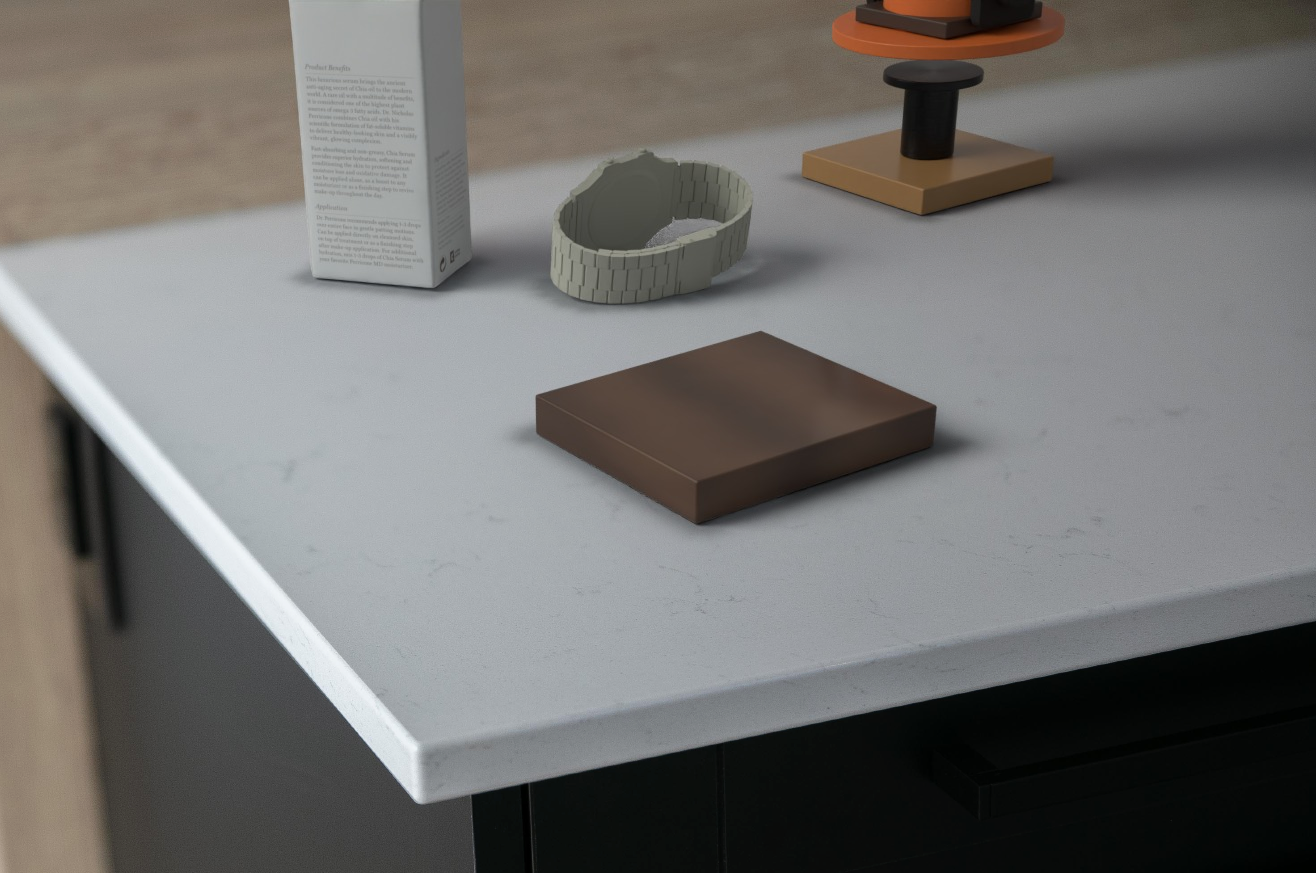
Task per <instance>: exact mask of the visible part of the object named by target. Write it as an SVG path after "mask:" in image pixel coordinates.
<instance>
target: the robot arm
mask: <svg viewBox="0 0 1316 873" xmlns="http://www.w3.org/2000/svg"><path fill="white" fill-rule="evenodd" d="M877 1H881V0H866V4H868V3H872V2H877ZM1035 1H1036V0H971V10H970V19H971V22H972V24H973V26H975V27H981V28H989V27H993V26H997V25H1002V24H1006V23H1011V22H1015V21H1019V20H1024V19H1027V18H1029V17H1030V16H1031V15H1032V14H1033V11H1034V6H1035Z"/></svg>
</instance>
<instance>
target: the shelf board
mask: <svg viewBox="0 0 1316 873" xmlns="http://www.w3.org/2000/svg"><path fill="white" fill-rule="evenodd" d="M937 410H938V406H937V405H936V404H935V403H932V402H930V401H927V400H926V399H923V398H920V397H918V396H915V395H913V394H911V393H908V392H907V391H904V390H901V389H899V388H897V387H895V386H892V385H889V384H887V383H885V382H883V381H881V380H878V379H876V378H873V377H871V376H868V375H866V374H864V373H861V372H859V371H856V370H855V369H852V368H850V367H847V366H845V365H843V364H840V363H838V362H835V361H833V360H831V359H829V358H827V357H824V356H821V355H819V354H817V353H814V352H812V351H810V350H807V349H805V348H803V347H801V346H798V345H796V344H793V343H791V342H789V341H787V340H784V339H782V338H780V337H778V336H774V335H773V334H771V333H768V332H765V331H763V330H758V331H755V332H750V333H748V334H743V335H740V336H737V337H733V338H729V339H726V340H723V341H720V342H716V343H712V344H709V345H705V346H702V347H699V348H695V349H692V350H688V351H684V352H680V353H677V354H673V355H670V356H667V357H663V358H660V359H657V360H653V361H649V362H646V363H643V364H639V365H635V366H631V367H629V368H625V369H621V370H618V371H614V372H611V373H608V374H603V375H600V376H597V377H593V378H590V379H586V380H582V381H580V382H576V383H572V384H569V385H566V386H562V387H558V388H555V389H552V390H548V391H544V392H541V393H537V394H536V395H535V433H536V435H538V436H540V437H542V438H543V439H544V440H547V441H548V442H551V443H552V444H554V445H555V446H557V447H559V448H561V449H562V450H565V451H566V452H568V453H570V454H571V455H573V456H575V457H577V458H578V459H581V460H582V461H584V462H586V463H587V464H589V465H590V466H593V467H594V468H596V469H598V470H599V471H601V472H603V473H605V474H607V475H609V476H611V477H612V478H614V479H615V480H617V481H619V482H621V483H623V484H624V485H626V486H628V487H630V488H631V489H633V490H634V491H637V492H638V493H641V494H642V495H644V496H646V497H647V498H649V499H651V500H653V501H655V502H656V503H658V504H660V505H661V506H663V507H665V508H667V509H669V510H670V511H672V512H674V513H675V514H678V515H679V516H681V517H683V518H684V519H686V520H688V521H690V522H691V523H693V524H700V523H703V522H707V521H710V520H713V519H716V518H718V517H719V518H720V517H722V516H725V515H729V514H731V513H734V512H737V511H740V510H743V509H746V508H749V507H752V506H755V505H758V504H761V503H764V502H767V501H770V500H774V499H776V498H779V497H782V496H785V495H789V494H791V493H794V492H797V491H800V490H803V489H806V488H810V487H813V486H817V485H819V484H822V483H825V482H827V481H830V480H834V479H836V478H841V477H843V476H846V475H849V474H852V473H855V472H858V471H861V470H865V469H867V468H870V467H873V466H877V465H880V464H882V463H885V462H889V461H891V460H893V459H897V458H900V457H903V456H906V455H909V454H912V453H915V452H918V451H921V450H924V449H928V448H930V447H933V446H934V443H935V431H936V420H937Z"/></svg>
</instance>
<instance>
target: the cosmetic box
mask: <svg viewBox="0 0 1316 873" xmlns="http://www.w3.org/2000/svg"><path fill="white" fill-rule="evenodd" d="M288 6H289V16H290V17H289V18H290V27H291V28H290V29H291V38H292V52H293V60H294V74H295V87H296V100H297V110H298V123H299V124H298V125H299V135H300V145H301V146H300V148H301V158H302V159H301V160H302V174H303V184H304V185H303V186H304V199H305V212H306V224H307V233H308V234H307V235H308V247H309V262H310V270H311V271H310V272H311V275H312V277H313V278H316V279H325V280H326V279H327V280H336V281H337V280H338V281H349V282H360V283H372V284H383V285H394V286H403V287H404V286H405V287H416V288H426V289H434V288H436V287H438V286H439V285H441V284H442V283H443V282H444V281H446V280H447V279H448V278H449V277H450V276H452V275H453V274H454V273H455V272H457V271H458V270H459V269H460V268H462V267H463V266H465V265H466V264H467V263H468V262H470V261H471V259H472V255H473V249H472V231H471V230H472V228H471V203H470V202H471V201H470V200H471V199H470V180H469V159H468V157H469V156H468V155H469V154H468V138H467V137H468V136H467V135H468V134H467V133H468V132H467V114H466V111H467V109H466V91H465V90H466V89H465V67H464V66H465V64H464V43H463V40H464V39H463V24H462V22H463V20H462V0H288Z"/></svg>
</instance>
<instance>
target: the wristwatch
mask: <svg viewBox="0 0 1316 873" xmlns="http://www.w3.org/2000/svg"><path fill="white" fill-rule="evenodd" d="M753 201H754V193H753V190H752V186H751V185H750V184H749V183H748V181H747V180H746V179H745V177H743V176H742V175H740V174H739V173H738V172H736V171H735V170H732V169H730V168H728V167H726V166H723V165H720V164H719V163H718V164H717V163H715V162H714V163H713V162H710V161H708V162H707V161H704V160H703V161H702V160H691V159H690V160H685V159H681V160H679V161H678V160H676V159H675V158H673V157H659V156H656V155H655V153H654V152H653V151H652V150H650V149H649V148H648V147H640V148H638V149H635V150H633V151H632V152H631V153H628V154H625V155H622V156H619V157H616V158H615V157H608V158H606V159H604V160H603V161H599V163H598V164H597V167H596V168H594V169H593V170H592V171H591V172H590V173H589V174H588V175H587V177H586V178H585V179H584V180H583V181H582V182H580V183H579V184H578V185H577V186H576V187H574V188H573V189H571V190H570V191H569V196H566V198H565V199H564V200H562V201H561V203H559V204H558V206H557V208H556V209H555V211H554V213H553V220H552V234H551V235H552V236H551V253H550V254H551V256H550V279H551V281H552V284H553V285H554V286H555V287H556V288H557V289H558V290H559V291H561V292H563V293H564V294H567V295H568V296H569V297H573V298H576V299H580V300H583V301H587V302H593V303H601V304H608V305H609V304H610V305H611V304H622V305H625V304H634V303H643V302H644V303H645V302H649V301H655V300H659V299H662V298H668V297H671V296H674V295H685V294H689V293H693V292H696V291H700V290H701V291H702V290H704V289H707V288H710V286H711V285H712V278H714V277H716V276H719V275H720V274H722V273H723V272H726V271H727V270H729V269H730V268H732V267H733V266H734V265H736V264H737V263H738V262H739V261H740V260H741V259H742V258H743V256H744V254H745V252H746V251H747V247H748V239H749V233H750V226H751V218H752V209H753V203H754V202H753ZM673 219H674V220H675V221H682V220H700V219H701V220H708V221H715V222H718V223H721V225H718V226H716V227H713V226H710V227H707V228H703V229H701V230H698V231H695V232H691V233H688V234H686V235H683V236H679V237H677V238H676V241H672V242H668V243H666V244H660V245H656V246H654V247H646V246H647V244H648V243H649V242H650V241H651V240H652V239H653V238H654V237H655V236H656V235H657V234H658V233H659V231H661V230H663V229H664V228H666V227H668V226H670V225H671V224H673Z"/></svg>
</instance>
